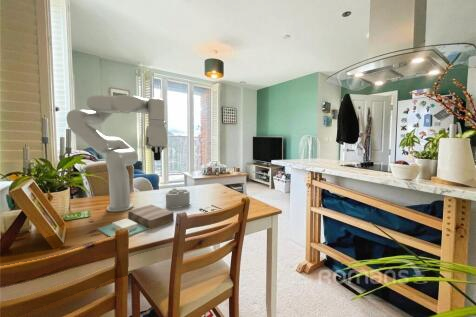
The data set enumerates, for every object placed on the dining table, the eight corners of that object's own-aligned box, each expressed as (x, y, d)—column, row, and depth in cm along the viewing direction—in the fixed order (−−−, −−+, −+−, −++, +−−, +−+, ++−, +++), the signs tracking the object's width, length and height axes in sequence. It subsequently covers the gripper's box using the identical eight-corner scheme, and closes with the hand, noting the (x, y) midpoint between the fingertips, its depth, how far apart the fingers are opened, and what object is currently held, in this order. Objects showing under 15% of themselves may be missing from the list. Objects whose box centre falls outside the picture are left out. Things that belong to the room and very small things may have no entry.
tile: (126, 218, 97) (126, 222, 97) (112, 222, 92) (112, 227, 92) (137, 223, 91) (137, 227, 92) (123, 228, 87) (123, 232, 87)
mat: (97, 229, 91) (97, 228, 91) (128, 219, 101) (128, 218, 101) (116, 241, 81) (115, 239, 81) (147, 229, 92) (147, 227, 92)
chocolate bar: (221, 218, 104) (199, 208, 116) (221, 220, 104) (199, 210, 116) (234, 213, 111) (212, 205, 123) (234, 215, 111) (212, 206, 123)
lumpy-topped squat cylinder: (191, 203, 126) (191, 189, 125) (171, 209, 117) (171, 193, 116) (181, 199, 133) (181, 186, 132) (162, 204, 124) (161, 189, 123)
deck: (128, 219, 102) (128, 210, 102) (151, 211, 112) (151, 204, 111) (150, 229, 92) (150, 220, 91) (173, 220, 101) (173, 212, 101)
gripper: (165, 124, 116) (165, 158, 118) (138, 123, 104) (139, 160, 106) (173, 124, 111) (174, 159, 113) (146, 122, 99) (147, 162, 101)
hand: (157, 160), depth 110 cm, fingers closed
